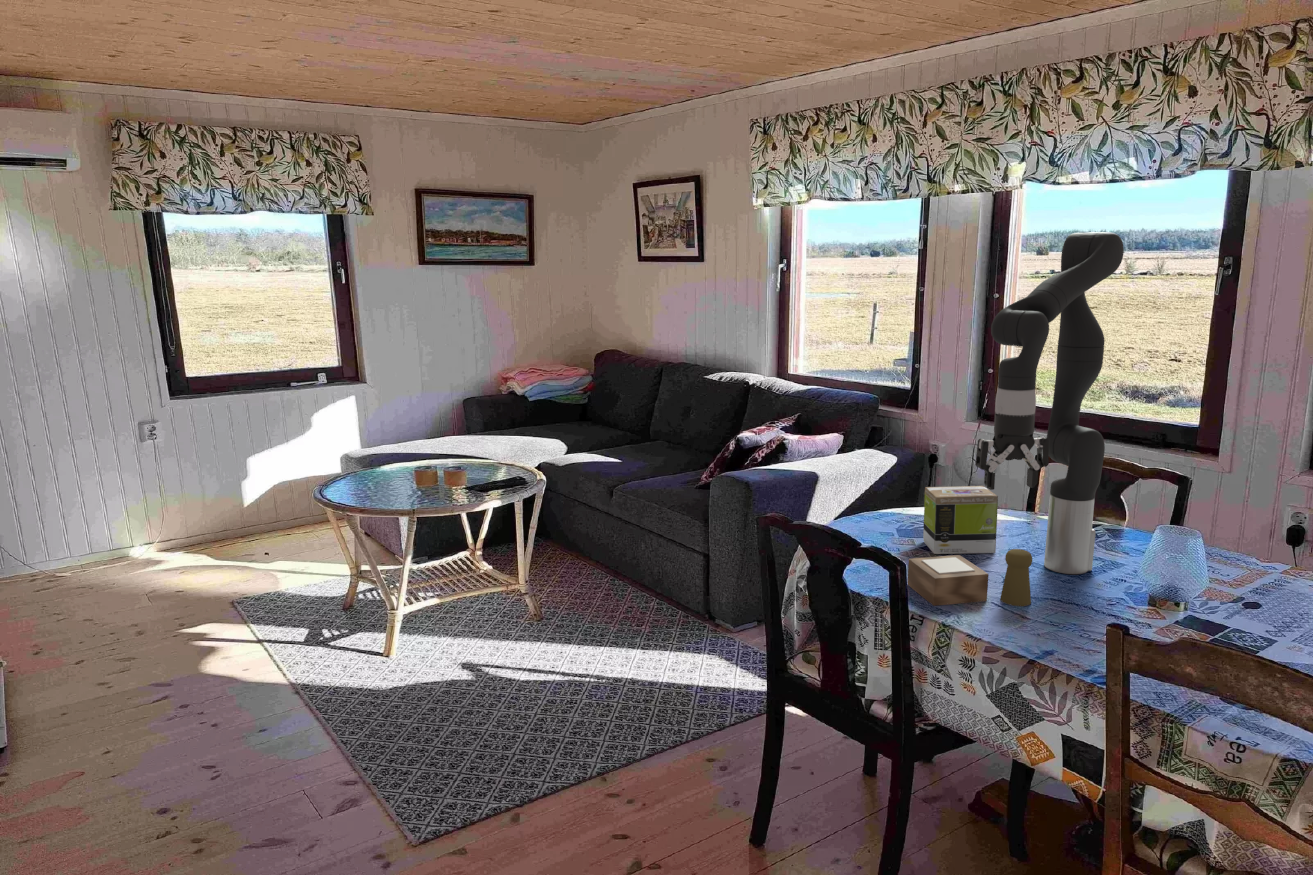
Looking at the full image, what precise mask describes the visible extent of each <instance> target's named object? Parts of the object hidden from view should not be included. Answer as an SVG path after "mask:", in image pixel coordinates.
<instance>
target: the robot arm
mask: <svg viewBox="0 0 1313 875" xmlns="http://www.w3.org/2000/svg"><path fill="white" fill-rule="evenodd" d="M1124 248H1125V247H1124V243H1123V239H1122V238H1121V236H1120V235H1118V234H1117V233H1114V232H1108V231H1100V232H1099V231H1098V232H1097V231H1095V232H1093V231H1091V232H1074V233H1071V234H1069V235H1067V237H1066V238H1065V240H1064V242H1063V246H1062V249H1061V257H1060V272H1058V273H1056V274H1054V275H1052V276H1050V277H1048V278H1047V279H1045V280H1043V281H1042V282H1041V283H1039V284H1038V285H1037V286H1036V288H1034V289H1033V290H1032V291H1031V292H1030V293H1029V294H1028V295H1027V296H1026V297H1023V298H1021V299H1018V300H1016V301H1015V302H1012V303H1011V304H1009V305H1007V306H1005V307H1004V308H1003V309H1001V310H1000V311H998V313H997V314H996V315H995V317H994V318H993V320H992V323H991V326H990V333H991V337H992V339H993V340H994V341H995V342H996V343H998V344H999V345H1003V346H1011V347H1021V348H1022V349H1021V351H1020V353H1019V355H1017V356H1014V357H1006V358H1003V359H1002V360H1001V361H1000V362H999V364H998V375H997V376H998V378H997V389H996V390H997V391H996V395H995V404H994V405H995V407H994V420H993V421H994V422H993V424H994V426H993V431H994V432H993V434H994V435H993V437H992V439H984V438H979V439H977V447H976V454H975V462H974V464H975V466H976V467H977V468H979V469H980V470H982V471H984V474H983V475H984V476H983V480H984V482H983V484H984V487H985V486H986V488H987V489H988V490H990V491H994V490H995V483H996V482H995V481H996V472H995V470H996V469H997V468H998V467H999V466H1000V465H1001V464H1003V462H1004V461H1013V460H1017V461H1022V460H1024V462H1025V463H1026V465H1027V466H1028V468H1027V469H1026V473H1027V474H1026V487H1028V488H1030V489H1031V488H1032V489H1034V488H1035V487H1036V485H1038V481H1039V480H1038V479H1039V470H1040V469H1041V468H1043V467H1046V468H1047V467H1049V458H1050V459H1051V460H1052V461H1054V462H1055V463H1058V464H1062V465H1065V466H1068V467H1067V472H1066V476H1065V477H1064V478H1059V479H1054V480H1053V481H1051V483H1050V489H1049V501H1048V502H1049V503H1048V512H1047V514H1048V515H1047V526H1046V527H1047V528H1046V537H1045V538H1046V539H1045V549H1044V550H1045V551H1044V563H1043V564H1044V567H1045V568H1046V569H1048V570H1049V571H1053V572H1055V573H1060V574H1066V575H1081V574H1085V573H1088V572H1089V571H1092V570H1093V564H1094V563H1093V562H1094V553H1095V543H1096V530H1095V529H1094V528H1093V521H1094V511H1095V510H1094V508H1095V498H1096V492H1097V490H1098V488H1099V485H1100V483H1101V478H1102V472H1103V471H1102V470H1103V464H1104V459H1105V439H1104V437H1103V435H1102V433H1101V432H1099V431H1098V430H1096V429H1094V428H1090V427H1086V426H1085V427H1084V426H1081V425H1080V413H1081V406H1082V403H1083V400H1084V397H1085V396H1086V395H1087V393H1088V391H1089V390H1090V388H1091V387H1092V386H1093V384H1094V382H1095V381H1096V380H1097V378H1098V377H1099V375H1100V373H1101V371H1102V368H1103V362H1104V353H1105V342H1106V341H1105V334H1104V332H1103V330H1102V327H1101V325H1100V323H1099V322H1098V320H1097V318H1096V317H1095V316H1096V315H1095V314H1094V313H1093V312H1092V309H1091V308H1090V307H1091V306H1090V305H1089V303H1088V301H1087V297H1086V292H1087V291H1089V290H1090V289H1091V288H1093V287H1095V286H1096V285H1098V284H1099V283H1100V282H1102V281H1104V280H1105V279H1107V278H1109V277H1110V276H1112V275H1113V274H1114V273H1115V272H1116V271H1117V270H1118V269H1119V267H1120V266H1121V264H1122V261H1123V258H1124V251H1125V250H1124ZM1059 315H1060V319H1059V320H1060V321H1059V331H1058V341H1057V348H1056V350H1057V351H1056V366H1055V367H1056V368H1055V369H1056V370H1055V371H1056V372H1055V379H1054V380H1055V381H1054V388H1053V389H1054V390H1053V400H1052V406H1051V411H1050V418H1049V422H1048V427H1047V433H1046V437H1044V436H1043V435H1042V436H1041V435H1038V436H1037V437H1034V432H1035V424H1036V421H1035V420H1036V409H1037V406H1036V404H1037V396H1036V395H1037V394H1036V384H1037V369H1038V366H1039V363H1040V360H1041V356H1042V353H1043V350H1044V347H1045V345H1046V343H1047V339H1048V337H1049V333H1050V323H1052V322H1053V321H1054V320H1055V319H1056V318H1057V317H1058V316H1059ZM1034 445H1035V448H1036V458H1035V457H1034V455H1033V454H1032V452H1031V450H1032V449H1033V446H1034ZM991 447H992V448H994V449H993V451H992V452H991V454H990V455H989V458H988V453H989V451H990V450H991Z"/></svg>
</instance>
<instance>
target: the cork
mask: <svg viewBox="0 0 1313 875" xmlns="http://www.w3.org/2000/svg"><path fill="white" fill-rule="evenodd" d="M1004 559H1005V563H1006V565H1007V566H1006V567H1007V568H1006V570H1005V576H1004V580H1003V586H1002V590H1001V593H1000V594H1001V595H1000V597H999V598H1000V601H1001V603H1004V604H1006V605H1009V606H1013V607H1027V606H1030V605H1031V604H1032V597H1031V580H1030V567H1031V566H1032V564H1033V556H1032V553H1030V552H1029V551H1028V550H1025V549H1021V548H1013V549H1009V550H1008V551H1007V552H1006V554H1005V558H1004Z"/></svg>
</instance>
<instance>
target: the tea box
mask: <svg viewBox="0 0 1313 875" xmlns="http://www.w3.org/2000/svg"><path fill="white" fill-rule="evenodd" d="M923 506H924V507H923V508H924V510H923V532H922V533H923V535H922V536H923V537H922V538H923V540H922V541H923V543H924V544H925V545H926V546H927V547H928V548H929V550H930V551H931V552H932V554H934V555H947V554H948V555H950V554H951V555H953V554H954V555H960V554H996V547H997V529H998V528H997V526H998V506H999V496H998V495H997V494H995V492H992V490H990V489H988V488H987V486H986V487H985V485H965V486H964V485H963V486H927V487H926V486H925V488H924V504H923Z"/></svg>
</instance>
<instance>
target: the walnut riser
mask: <svg viewBox="0 0 1313 875" xmlns="http://www.w3.org/2000/svg"><path fill="white" fill-rule="evenodd" d="M907 568H908V569H907V583H908V585H909V586H908V585H907V586H908V587H910V588H911V589H912V590H913V591H914V592H916V593H917V594H919V596H921V597H922V598H923V599H924V600H926V601H927V602H928V603H930V605H932V606H933V607H934V606H946V605H948V606H949V605H956V604H957V605H958V604H968V603H979V602H980V603H981V602H987V601H988V589H989V588H988V586H989V575H990V574H989V573H988V572H986V571H985V570H983V569H982V568H980V567H978V566H977V565H975V564H974V563H973V562H971V561H970V560H968V559H966V558H965V557H963V556H962V555H960V554H954V555H953V554H951V555H942V556H929V557H915V558H914V557H913V558H908V566H907Z"/></svg>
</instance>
